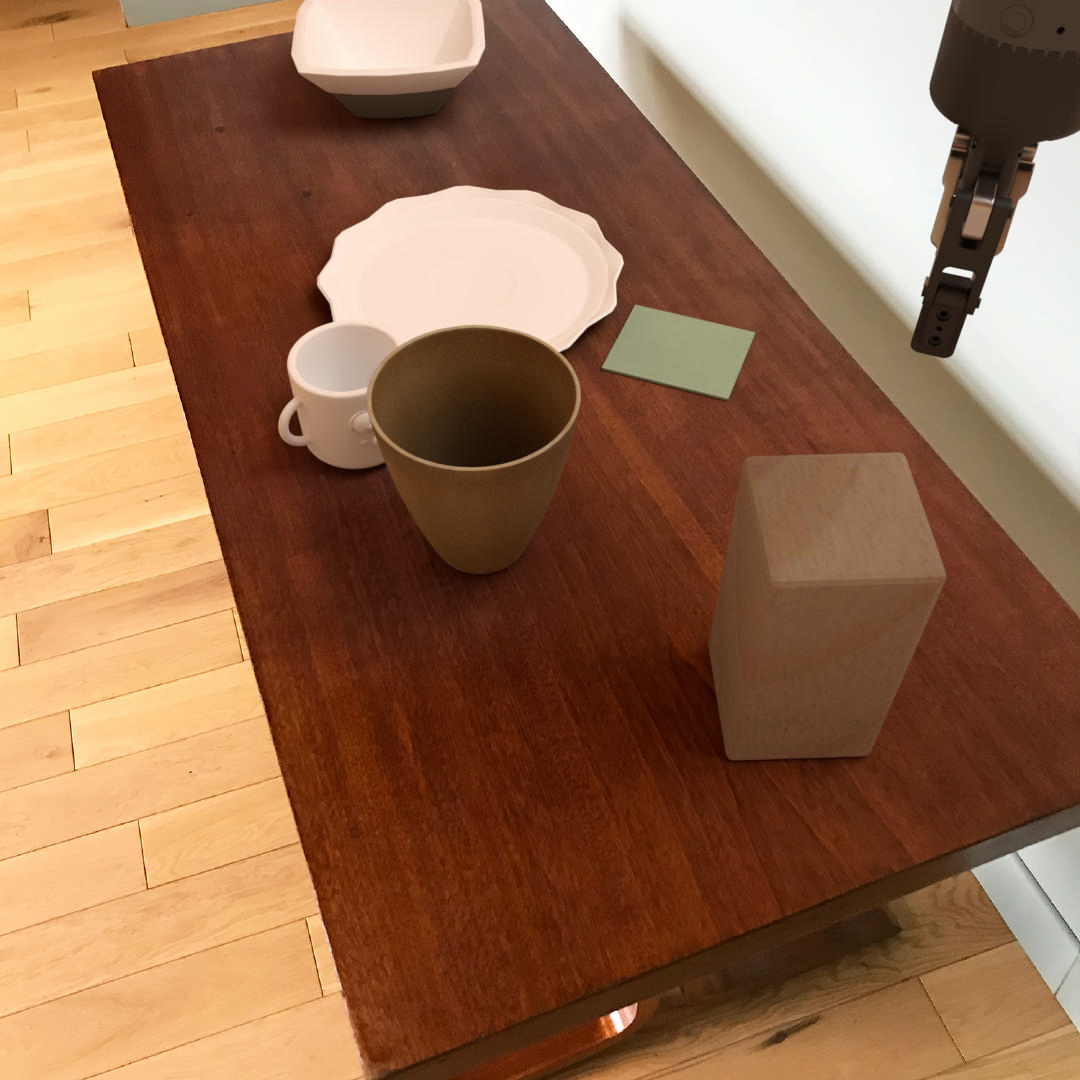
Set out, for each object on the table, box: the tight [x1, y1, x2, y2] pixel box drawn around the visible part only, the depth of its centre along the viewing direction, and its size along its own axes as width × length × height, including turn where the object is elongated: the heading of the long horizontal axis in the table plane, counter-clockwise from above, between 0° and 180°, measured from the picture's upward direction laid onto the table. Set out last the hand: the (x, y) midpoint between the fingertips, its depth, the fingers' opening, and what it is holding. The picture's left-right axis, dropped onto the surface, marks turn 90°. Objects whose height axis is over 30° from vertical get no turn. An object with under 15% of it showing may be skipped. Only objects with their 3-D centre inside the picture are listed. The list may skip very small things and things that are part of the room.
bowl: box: [290, 0, 486, 119], centre depth 133 cm, size 22×23×8 cm
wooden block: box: [707, 451, 947, 762], centre depth 72 cm, size 10×10×20 cm
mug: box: [277, 320, 403, 470], centre depth 93 cm, size 12×10×9 cm
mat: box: [601, 304, 756, 402], centre depth 104 cm, size 12×10×1 cm
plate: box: [316, 185, 625, 354], centre depth 110 cm, size 29×29×2 cm
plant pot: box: [366, 325, 582, 575], centre depth 83 cm, size 15×15×16 cm
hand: (942, 304), depth 61 cm, fingers open, 8 cm apart
